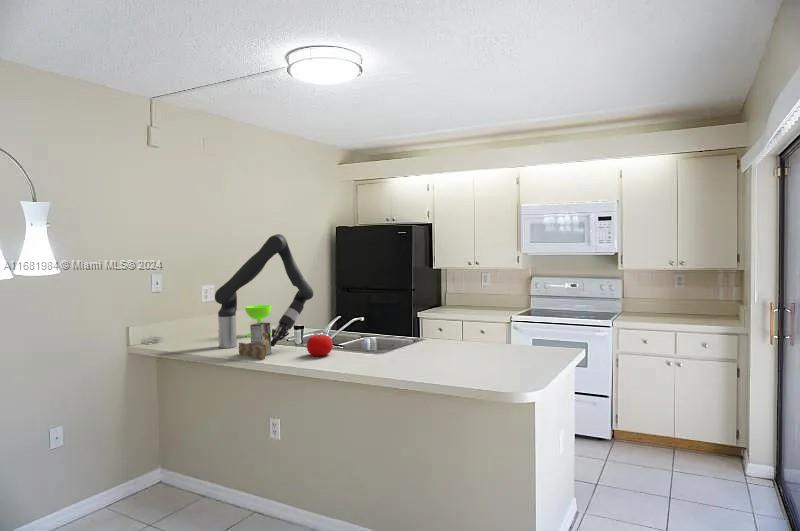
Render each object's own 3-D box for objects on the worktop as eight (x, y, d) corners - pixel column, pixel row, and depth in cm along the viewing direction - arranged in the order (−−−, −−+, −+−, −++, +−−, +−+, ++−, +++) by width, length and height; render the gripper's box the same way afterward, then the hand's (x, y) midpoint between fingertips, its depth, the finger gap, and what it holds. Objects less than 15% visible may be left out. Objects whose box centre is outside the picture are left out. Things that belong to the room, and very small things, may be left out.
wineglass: (277, 333, 357) (276, 305, 357) (261, 338, 343) (260, 308, 342) (257, 332, 364) (256, 304, 363) (240, 336, 349) (239, 307, 349)
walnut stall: (239, 354, 293) (238, 342, 292) (247, 352, 296) (247, 341, 296) (263, 359, 277) (262, 347, 277) (272, 358, 281) (271, 345, 281)
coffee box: (260, 353, 295) (259, 322, 295) (271, 353, 293) (270, 322, 293) (251, 356, 287) (250, 324, 286) (262, 356, 285) (261, 325, 284)
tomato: (306, 353, 291) (305, 333, 291) (331, 351, 294) (331, 331, 293) (307, 358, 277) (307, 337, 277) (334, 357, 280) (333, 336, 279)
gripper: (277, 313, 304) (259, 340, 296) (292, 315, 295) (274, 342, 287) (286, 321, 309) (268, 348, 300) (301, 323, 300) (283, 351, 291)
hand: (271, 345), depth 294 cm, fingers closed
